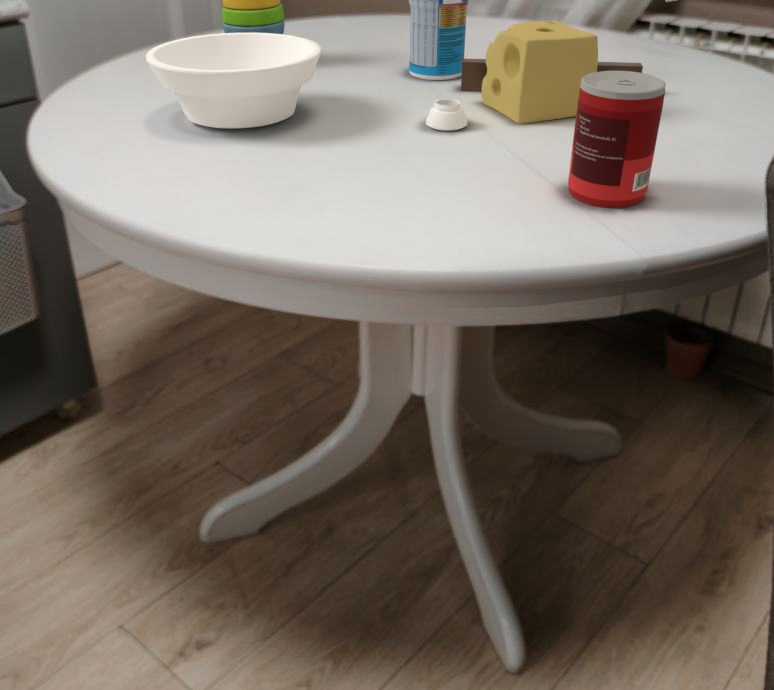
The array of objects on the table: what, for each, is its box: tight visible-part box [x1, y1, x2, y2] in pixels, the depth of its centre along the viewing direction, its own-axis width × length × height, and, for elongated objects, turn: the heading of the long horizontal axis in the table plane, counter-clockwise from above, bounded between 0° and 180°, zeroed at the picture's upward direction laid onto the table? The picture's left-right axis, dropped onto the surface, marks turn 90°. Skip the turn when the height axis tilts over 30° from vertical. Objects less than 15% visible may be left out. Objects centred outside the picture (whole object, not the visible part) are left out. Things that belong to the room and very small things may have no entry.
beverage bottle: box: [408, 0, 469, 81], centre depth 114 cm, size 8×8×20 cm
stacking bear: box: [221, 0, 285, 34], centre depth 121 cm, size 11×10×18 cm
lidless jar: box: [425, 98, 468, 132], centre depth 97 cm, size 5×3×5 cm
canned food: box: [567, 71, 666, 209], centre depth 77 cm, size 8×8×11 cm
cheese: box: [481, 20, 599, 125], centre depth 101 cm, size 10×11×10 cm
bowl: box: [145, 32, 323, 129], centre depth 100 cm, size 21×21×8 cm
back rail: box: [460, 58, 644, 93], centre depth 110 cm, size 24×2×4 cm, turn 83°
